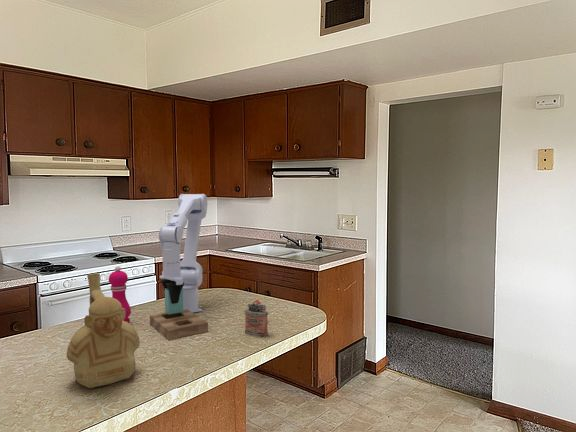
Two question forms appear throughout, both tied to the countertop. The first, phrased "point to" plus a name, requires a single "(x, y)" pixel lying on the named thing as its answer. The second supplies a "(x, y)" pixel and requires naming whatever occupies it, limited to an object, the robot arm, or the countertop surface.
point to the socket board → (178, 324)
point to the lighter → (256, 320)
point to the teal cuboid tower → (171, 307)
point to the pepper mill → (120, 289)
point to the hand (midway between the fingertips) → (172, 301)
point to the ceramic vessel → (103, 341)
